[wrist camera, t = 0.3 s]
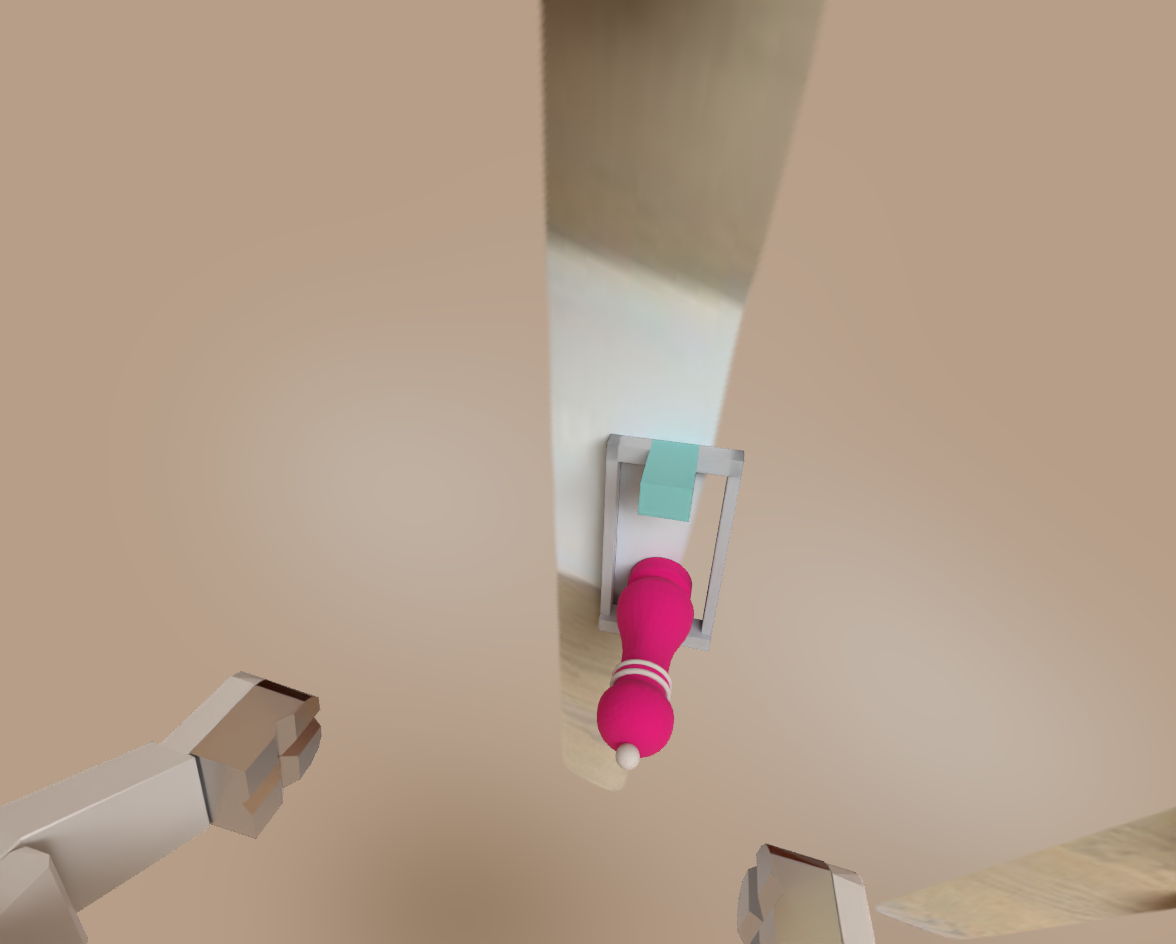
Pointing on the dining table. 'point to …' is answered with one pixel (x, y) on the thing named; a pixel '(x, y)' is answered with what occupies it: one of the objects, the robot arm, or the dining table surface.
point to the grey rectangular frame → (668, 510)
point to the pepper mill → (646, 660)
